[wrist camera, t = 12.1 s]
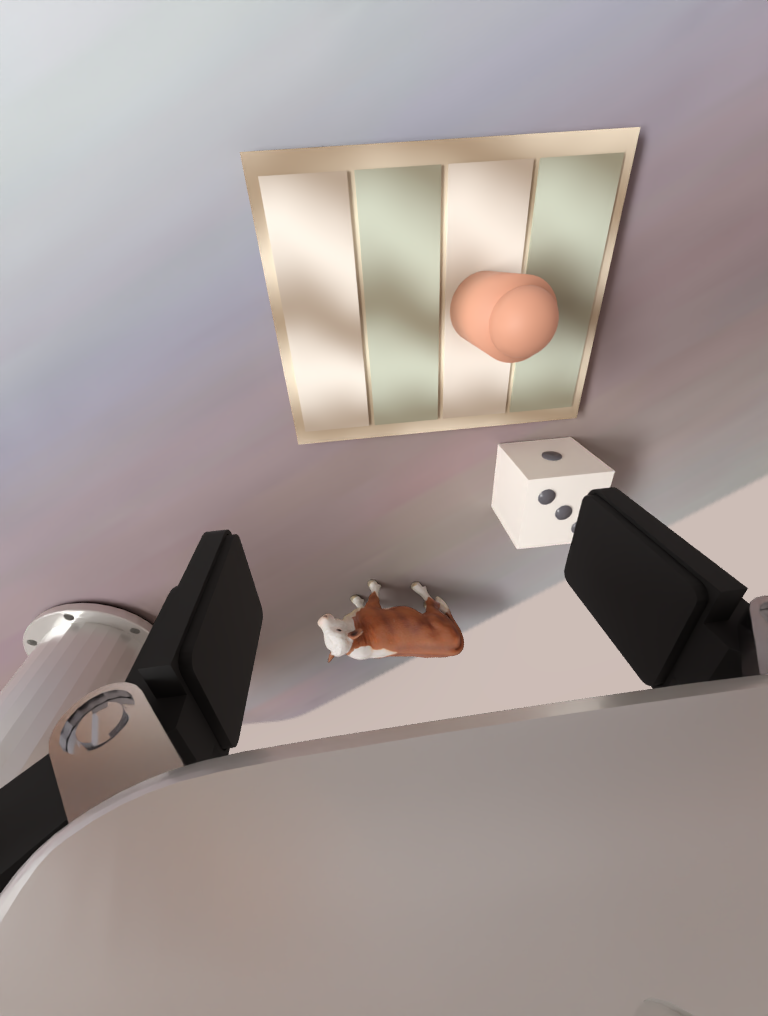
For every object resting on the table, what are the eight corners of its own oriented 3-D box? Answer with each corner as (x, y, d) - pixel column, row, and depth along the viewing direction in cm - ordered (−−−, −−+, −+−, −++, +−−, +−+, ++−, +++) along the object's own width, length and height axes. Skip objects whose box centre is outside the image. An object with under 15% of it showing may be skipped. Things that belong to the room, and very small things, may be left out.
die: (558, 499, 34) (595, 541, 29) (491, 506, 34) (517, 549, 29) (572, 435, 31) (617, 470, 26) (498, 442, 31) (529, 479, 26)
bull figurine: (323, 564, 36) (319, 636, 29) (454, 584, 39) (478, 653, 32) (314, 597, 38) (308, 671, 31) (439, 614, 41) (458, 684, 34)
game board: (569, 413, 30) (577, 418, 29) (299, 439, 29) (298, 445, 28) (628, 132, 21) (642, 125, 20) (244, 156, 20) (239, 151, 19)
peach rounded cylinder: (508, 339, 25) (570, 369, 19) (449, 344, 25) (489, 377, 18) (516, 268, 23) (590, 272, 16) (451, 273, 23) (497, 280, 16)
